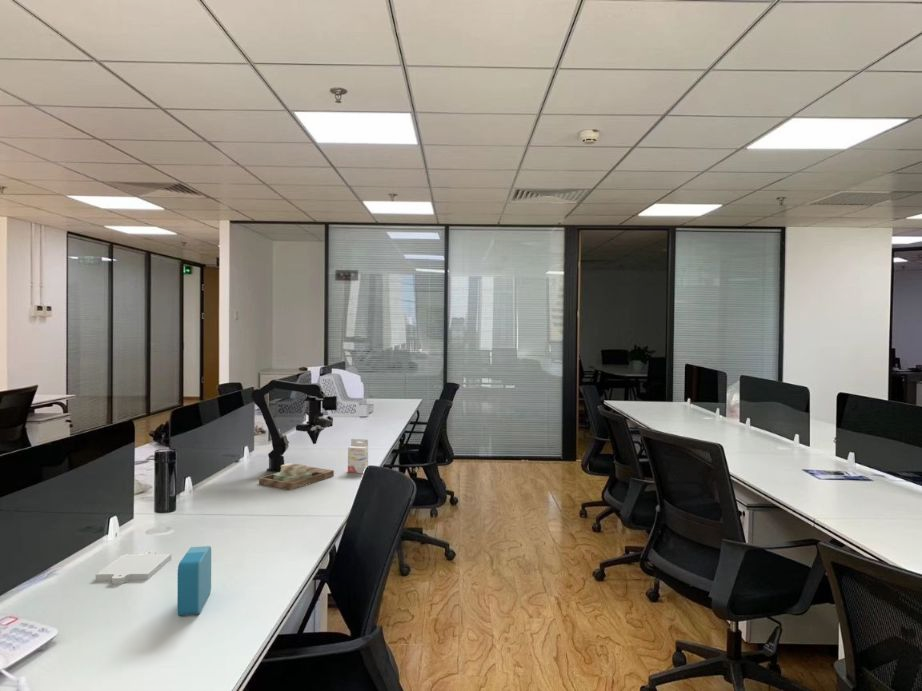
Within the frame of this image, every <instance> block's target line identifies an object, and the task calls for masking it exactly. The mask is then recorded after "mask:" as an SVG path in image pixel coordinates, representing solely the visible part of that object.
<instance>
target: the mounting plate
mask: <svg viewBox="0 0 922 691" xmlns="http://www.w3.org/2000/svg"><path fill="white" fill-rule="evenodd" d="M170 561H172V554H171V553H168V554H167V553H157V551H156V550H146V551H145V552H142V553H141V554H139V553H138V554H137V553H136V554H135V553H134V554H133V553H132V554H131V553H129V554H126V553H125V554H122V555H121V556H119V557H118V558H116V559H115V560H114V561H112V562H111V563H109V564H108V565H106V566H105V567H104V568H102V569H101V570H99V571H98V572H97V573H96V574H95V581H111V585H123V584H125V583H126V582H128V581H142V580H143V581H149V580H150V579H151V578H152V577H153V576H154V575H156V574H157V573H158V572H159V571H160V570H161V569H162V568H163V567H165V566H166V565H167V564H168V563H169V562H170Z"/></svg>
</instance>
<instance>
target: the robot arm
mask: <svg viewBox="0 0 922 691" xmlns="http://www.w3.org/2000/svg"><path fill="white" fill-rule="evenodd" d="M276 389H279V390H285V391H290V392H291V391H292V392H298V393H302V394H305V395H306V398H305V399H304V400H303V401H304V402H308V409H307V410H308V412H306V416H308V418H307V420H308V421H306V423H297V424H296V425H295V431H297V432H298V431H299V432H306V433H307V435H308V437H310V440H311V443H312V444H313V445H316V444H317V442H318V439H319V436H320V434H321V432H322V431H323V430H325V428H330V427H333V425H334V417H333V416H332V415H328V416H324V412H322V409H323V410H324V411H338V407H339V406H338V405H339V404H338V397H337V396H338V395H333V396H330V395H329V396H327V395H326V394H325V392H324V391H323V387H322V385H321V384H319V383H317V382H312V383H311V382H310V383H307V382H306V383H301V382H293V381H292V382H291V381H287V380H282V379H281V380H280V379H277V378H274V379H272V380H270V381H269V382H268V383H266V384H265V385H263V386H262V387H259V388H256V389H254V390H252V391H251V395H250V398H251V400H252V402H253V403H254V404H255V405H256V406H257V407H258V409H259V410H260V414H261V416H262V418H263V420H264V422H265V424H266V428H267V430H268V433H269V435H270V437H271V446H272V450H271V451H270V452H269V453H268V454H267V455H268V468H266V471H269V472H275V473H279V472H281V465H284V464H285V456H283V455H284V454H285V453H286V451H287V450H288V449H289V443H290V441H289V440H288V438H287V435H286V434H284V435H283V434H282V433H281V431H280V429H279V426H278V424H277V421H276V419H275V417H274V415H273V412H272V409H271V407H270V402H269V395H268V394H269V393H271V392H272V391H274V390H276Z"/></svg>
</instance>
